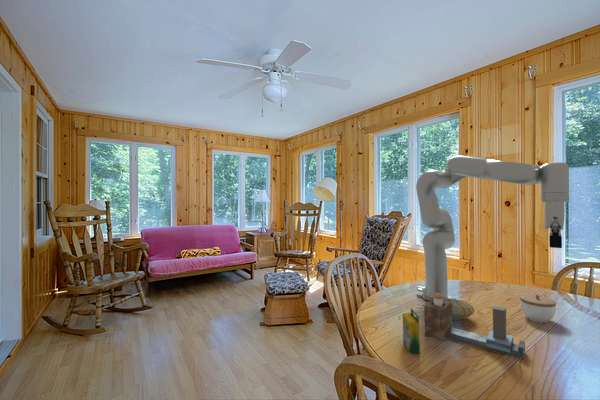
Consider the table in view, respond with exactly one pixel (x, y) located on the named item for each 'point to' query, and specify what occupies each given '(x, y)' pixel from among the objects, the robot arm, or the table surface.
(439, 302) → the orange and grey cylinder
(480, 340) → the rail
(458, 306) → the nautilus
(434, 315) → the end cabinet
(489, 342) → the carriage
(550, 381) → the table surface
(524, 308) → the lidded jar
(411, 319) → the crayon box
